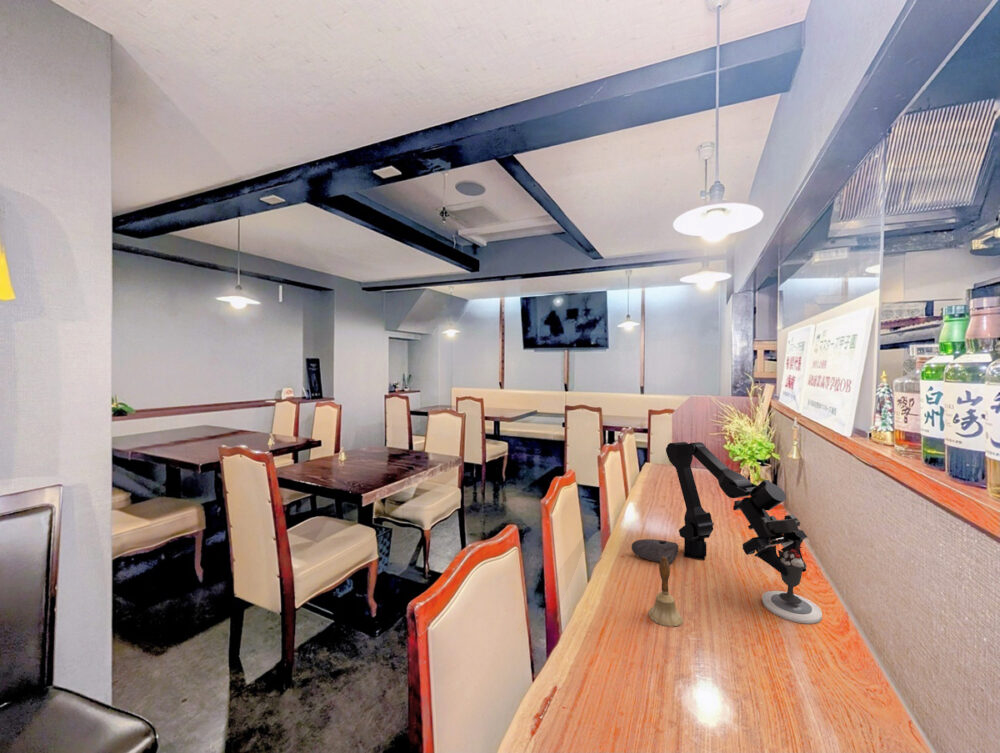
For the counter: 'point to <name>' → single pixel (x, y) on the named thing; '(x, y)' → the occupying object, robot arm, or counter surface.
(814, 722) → the counter surface
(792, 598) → the sundae
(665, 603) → the hand bell
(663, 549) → the perforated stone tool
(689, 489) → the robot arm
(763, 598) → the serving plate
